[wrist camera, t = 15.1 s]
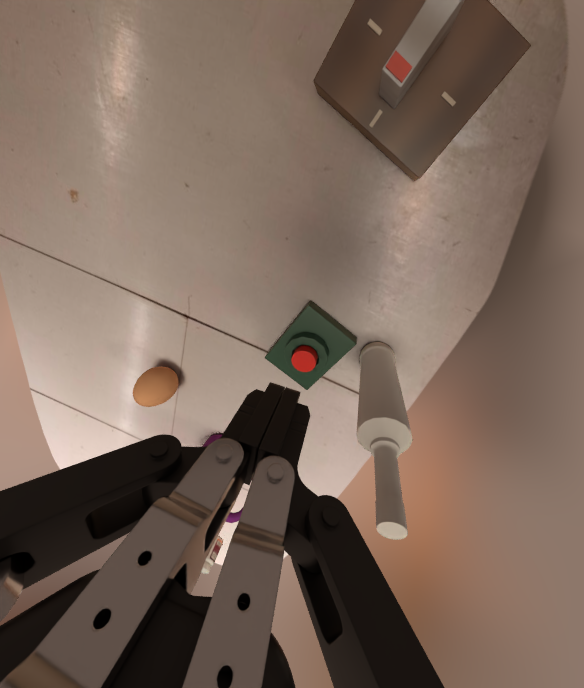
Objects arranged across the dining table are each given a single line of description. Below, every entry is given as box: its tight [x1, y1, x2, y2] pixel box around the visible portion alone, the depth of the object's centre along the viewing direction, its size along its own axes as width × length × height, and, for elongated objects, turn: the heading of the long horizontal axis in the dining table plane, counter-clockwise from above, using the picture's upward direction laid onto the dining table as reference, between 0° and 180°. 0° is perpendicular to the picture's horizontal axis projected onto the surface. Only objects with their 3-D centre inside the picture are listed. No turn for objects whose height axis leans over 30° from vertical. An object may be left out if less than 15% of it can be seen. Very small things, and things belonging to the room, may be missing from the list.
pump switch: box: [265, 301, 357, 390], centre depth 40 cm, size 12×9×4 cm
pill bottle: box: [201, 536, 223, 574], centre depth 78 cm, size 5×5×8 cm
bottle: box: [357, 342, 412, 539], centre depth 28 cm, size 5×5×25 cm
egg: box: [133, 367, 178, 407], centre depth 48 cm, size 7×7×9 cm
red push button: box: [291, 345, 318, 372], centre depth 37 cm, size 4×4×2 cm
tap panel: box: [314, 0, 531, 181], centre depth 24 cm, size 14×11×3 cm
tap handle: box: [379, 0, 464, 109], centre depth 20 cm, size 6×2×5 cm, turn 143°
